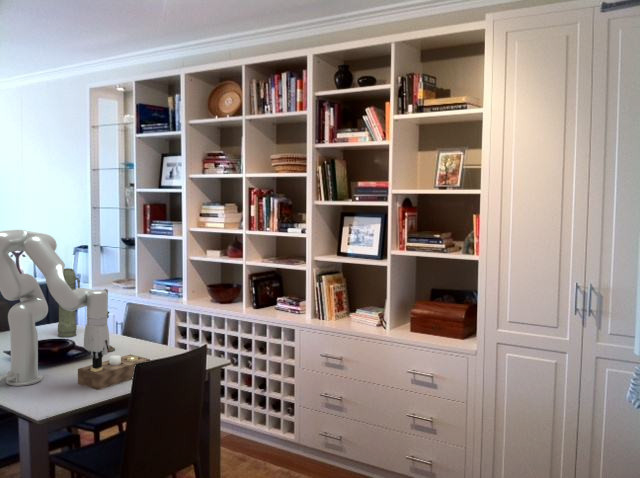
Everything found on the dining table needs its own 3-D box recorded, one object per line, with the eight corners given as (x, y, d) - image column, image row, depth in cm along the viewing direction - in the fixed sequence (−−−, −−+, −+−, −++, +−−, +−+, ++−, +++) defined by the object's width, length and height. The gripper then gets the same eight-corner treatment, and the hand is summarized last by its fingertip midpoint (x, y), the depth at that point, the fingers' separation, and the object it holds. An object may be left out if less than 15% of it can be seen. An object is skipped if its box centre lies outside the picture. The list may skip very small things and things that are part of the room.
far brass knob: (132, 372, 238) (132, 359, 237) (124, 370, 240) (124, 357, 239) (140, 369, 241) (140, 356, 241) (132, 367, 244) (133, 355, 243)
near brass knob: (95, 383, 222) (95, 369, 222) (88, 381, 224) (88, 367, 224) (104, 380, 226) (104, 367, 226) (97, 378, 228) (97, 365, 228)
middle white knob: (114, 372, 230) (114, 358, 229) (107, 370, 232) (107, 356, 232) (123, 369, 234) (123, 356, 233) (115, 367, 236) (115, 354, 235)
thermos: (53, 334, 299) (53, 268, 297) (78, 332, 305) (78, 267, 302) (55, 338, 292) (55, 270, 289) (80, 336, 297) (80, 269, 295)
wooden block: (98, 389, 219) (98, 374, 218) (77, 383, 225) (77, 368, 224) (149, 373, 241) (150, 359, 241) (130, 368, 247) (130, 354, 247)
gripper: (76, 320, 224) (76, 366, 225) (102, 325, 216) (102, 373, 218) (92, 317, 230) (92, 362, 232) (118, 322, 223) (117, 368, 224)
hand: (97, 367), depth 225 cm, fingers closed
